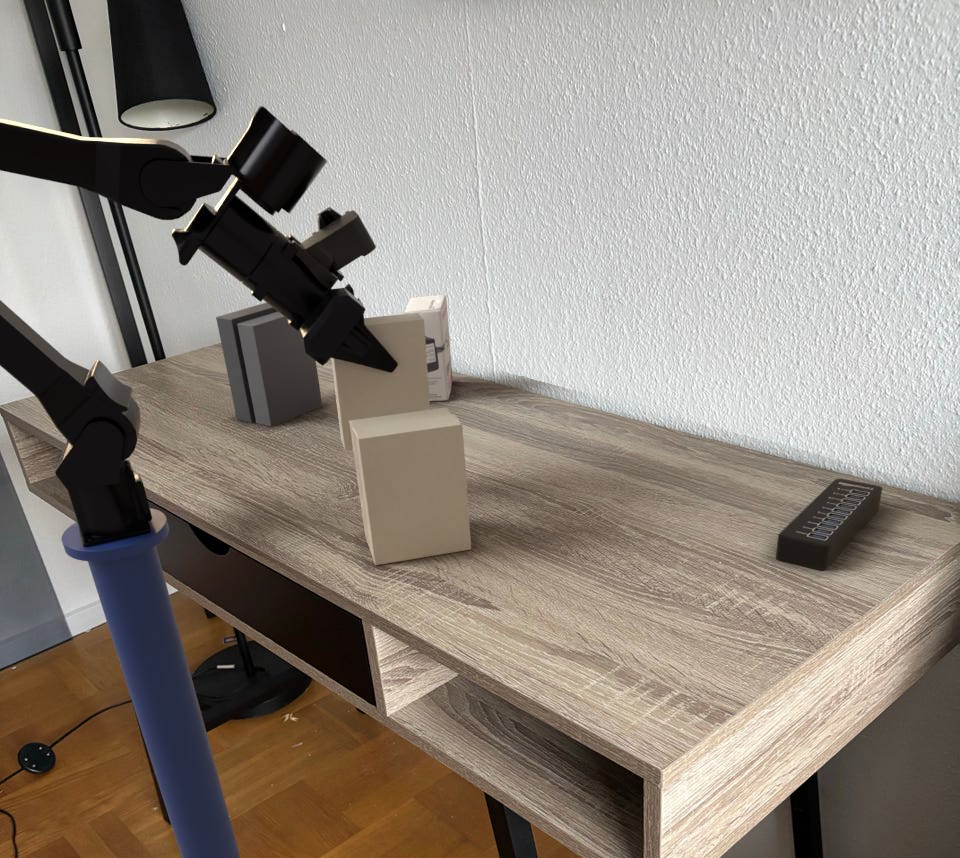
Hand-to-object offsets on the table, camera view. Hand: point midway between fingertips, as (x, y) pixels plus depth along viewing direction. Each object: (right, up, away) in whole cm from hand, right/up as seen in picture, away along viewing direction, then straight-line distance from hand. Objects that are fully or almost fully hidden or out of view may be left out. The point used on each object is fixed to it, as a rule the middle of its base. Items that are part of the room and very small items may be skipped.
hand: (392, 363), depth 93 cm
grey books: (-18, +3, +31) cm, 36 cm away
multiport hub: (+40, -18, -8) cm, 45 cm away
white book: (-1, -7, +4) cm, 8 cm away
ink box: (+2, +6, +35) cm, 35 cm away
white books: (+3, -18, -4) cm, 19 cm away
